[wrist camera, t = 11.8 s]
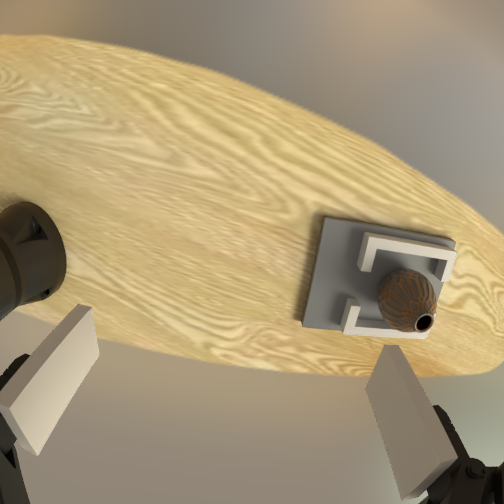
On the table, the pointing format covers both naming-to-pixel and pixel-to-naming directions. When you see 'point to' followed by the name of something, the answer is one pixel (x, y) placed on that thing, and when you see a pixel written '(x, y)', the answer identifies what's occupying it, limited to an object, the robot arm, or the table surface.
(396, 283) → the vase
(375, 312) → the board
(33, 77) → the table surface
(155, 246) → the table surface
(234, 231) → the table surface
